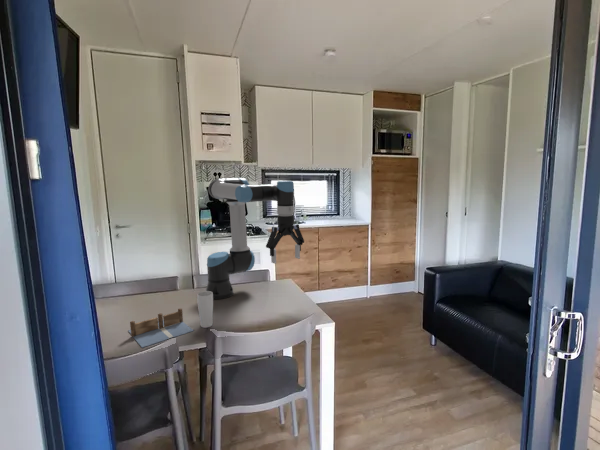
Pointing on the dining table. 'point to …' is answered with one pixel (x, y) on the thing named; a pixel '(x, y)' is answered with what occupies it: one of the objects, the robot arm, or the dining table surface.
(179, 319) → the fence fixed
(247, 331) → the dining table surface
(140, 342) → the mat
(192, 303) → the dining table surface
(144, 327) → the fence panel
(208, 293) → the drinking glass
